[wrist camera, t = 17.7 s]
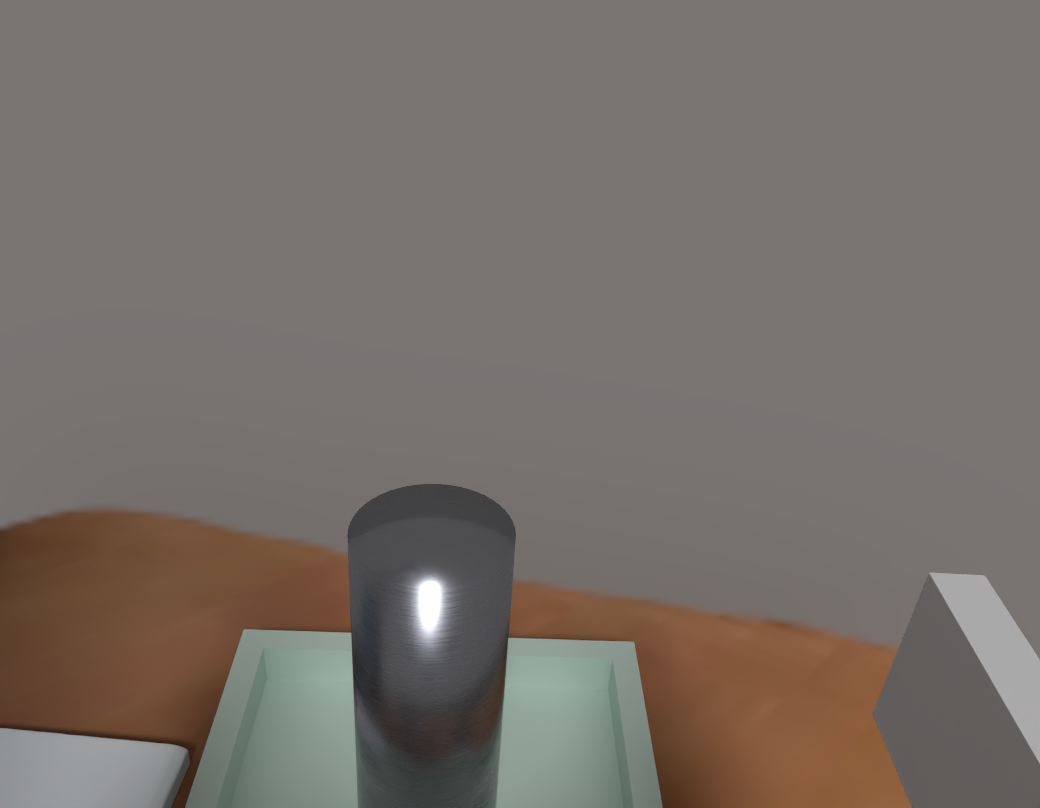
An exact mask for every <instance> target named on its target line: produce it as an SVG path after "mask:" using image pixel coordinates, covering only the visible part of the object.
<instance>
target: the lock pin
mask: <svg viewBox="0 0 1040 808" xmlns="http://www.w3.org/2000/svg"><path fill="white" fill-rule="evenodd" d="M515 539H516V532H515V527H514V524H513V522H512V520H511V518H510V516H509V515H508V514H507V512H506V511H505V510H504V509H503V508H502V507H501V506H500V505H499V504H497V503H496V502H495V501H493V500H492V499H490V498H488V497H486V496H485V495H482V494H480V493H478V492H475V491H472V490H469V489H466V488H462V487H457V486H451V485H441V484H422V485H413V486H407V487H402V488H398V489H395V490H391V491H389V492H386V493H384V494H381V495H379V496H377V497H376V498H374V499H372V500H370V501H369V502H368V503H366V504H365V505H364V506H363V507H362V508H361V509H359V510H358V512H357V513H356V514H355V515H354V517H353V519H352V521H351V522H350V526H349V529H348V560H349V586H350V613H351V639H352V666H353V693H354V719H355V746H356V772H357V799H358V808H496V800H497V787H498V773H499V759H500V745H501V732H502V718H503V704H504V690H505V677H506V663H507V649H508V635H509V622H510V608H511V594H512V580H513V566H514V552H515Z"/></svg>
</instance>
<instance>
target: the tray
mask: <svg viewBox="0 0 1040 808" xmlns="http://www.w3.org/2000/svg"><path fill="white" fill-rule="evenodd" d="M185 808H358V799H357V772H356V746H355V719H354V693H353V666H352V639H351V633H342V632H311V631H280V630H249V629H244V631H243V634H242V637H241V640H240V643H239V646H238V649H237V652H236V655H235V658H234V661H233V664H232V667H231V670H230V673H229V676H228V679H227V682H226V685H225V688H224V691H223V694H222V697H221V700H220V703H219V706H218V709H217V712H216V715H215V718H214V721H213V724H212V727H211V730H210V733H209V736H208V739H207V742H206V745H205V748H204V751H203V754H202V758H201V761H200V764H199V767H198V770H197V773H196V776H195V779H194V782H193V785H192V788H191V791H190V794H189V797H188V800H187V803H186V806H185ZM496 808H663V806H662V800H661V794H660V789H659V783H658V777H657V771H656V766H655V760H654V754H653V748H652V742H651V737H650V731H649V725H648V719H647V714H646V708H645V702H644V696H643V691H642V685H641V679H640V673H639V667H638V662H637V656H636V650H635V644H634V642H622V641H591V640H560V639H529V638H508V649H507V663H506V677H505V690H504V704H503V718H502V732H501V745H500V759H499V773H498V787H497V800H496Z"/></svg>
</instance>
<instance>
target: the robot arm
mask: <svg viewBox="0 0 1040 808" xmlns="http://www.w3.org/2000/svg"><path fill="white" fill-rule="evenodd" d="M873 716H874V719H875V721H876V723H877V726H878V728H879V731H880V733H881V735H882V738H883V740H884V742H885V745H886V747H887V750H888V752H889V754H890V757H891V759H892V761H893V764H894V766H895V768H896V771H897V773H898V776H899V778H900V780H901V783H902V785H903V787H904V790H905V792H906V795H907V797H908V799H909V802H910V804H911V806H912V808H1040V660H1039V658H1038V657H1037V655H1036V654H1035V653H1034V651H1033V649H1032V647H1031V646H1030V644H1029V643H1028V641H1027V640H1026V638H1025V637H1024V635H1023V634H1022V632H1021V631H1020V629H1019V628H1018V626H1017V624H1016V623H1015V621H1014V620H1013V618H1012V617H1011V615H1010V614H1009V612H1008V611H1007V609H1006V607H1005V606H1004V605H1003V603H1002V601H1001V600H1000V598H999V597H998V595H997V594H996V592H995V591H994V589H993V588H992V586H991V585H990V583H989V581H988V580H987V578H986V577H985V576H984V575H963V574H945V573H929V574H928V577H927V579H926V582H925V584H924V587H923V590H922V592H921V594H920V597H919V599H918V602H917V604H916V607H915V609H914V612H913V614H912V617H911V619H910V622H909V624H908V627H907V629H906V632H905V634H904V637H903V639H902V642H901V644H900V647H899V649H898V652H897V654H896V657H895V659H894V662H893V664H892V667H891V669H890V671H889V674H888V676H887V679H886V681H885V684H884V686H883V689H882V691H881V694H880V696H879V699H878V701H877V704H876V706H875V709H874V711H873Z"/></svg>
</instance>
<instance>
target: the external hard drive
mask: <svg viewBox="0 0 1040 808" xmlns="http://www.w3.org/2000/svg"><path fill="white" fill-rule="evenodd" d="M189 766H190V759H189V753H188V750H187V749H186V748H184V747H181V746H178V745H172V744H164V743H153V742H142V741H132V740H122V739H110V738H100V737H89V736H80V735H67V734H61V733H49V732H37V731H30V730H18V729H9V728H0V808H171V807H172V805H173V802H174V800H175V798H176V796H177V793H178V791H179V789H180V786H181V784H182V782H183V779H184V777H185V775H186V772H187V770H188V768H189Z"/></svg>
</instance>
